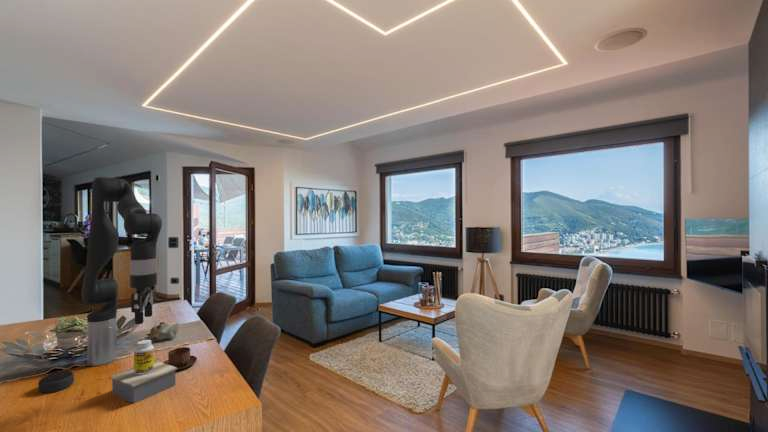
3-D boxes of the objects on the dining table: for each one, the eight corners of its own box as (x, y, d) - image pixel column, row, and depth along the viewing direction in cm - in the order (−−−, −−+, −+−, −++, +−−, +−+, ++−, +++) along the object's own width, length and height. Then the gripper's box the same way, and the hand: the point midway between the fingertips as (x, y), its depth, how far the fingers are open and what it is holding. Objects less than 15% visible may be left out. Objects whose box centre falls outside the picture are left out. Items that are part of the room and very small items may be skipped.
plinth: (109, 394, 114) (109, 376, 114) (154, 376, 126) (154, 360, 126) (133, 404, 107) (132, 385, 107) (177, 384, 120) (177, 367, 120)
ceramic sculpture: (175, 323, 161) (137, 328, 156) (176, 341, 161) (139, 347, 157) (180, 316, 171) (145, 321, 167) (182, 334, 171) (147, 339, 167)
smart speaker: (78, 385, 120) (78, 374, 120) (43, 397, 113) (43, 384, 113) (68, 379, 125) (68, 368, 125) (34, 390, 117) (34, 378, 117)
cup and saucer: (203, 363, 138) (203, 347, 138) (174, 376, 127) (174, 359, 127) (183, 358, 143) (183, 343, 143) (154, 370, 132) (154, 353, 132)
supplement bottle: (133, 376, 113) (133, 345, 113) (134, 370, 118) (134, 340, 118) (154, 372, 116) (153, 342, 116) (154, 366, 121) (154, 337, 121)
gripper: (149, 275, 111) (149, 325, 111) (162, 268, 125) (163, 313, 125) (121, 276, 109) (121, 327, 109) (138, 269, 122) (139, 315, 122)
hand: (143, 320), depth 117 cm, fingers open, 8 cm apart
